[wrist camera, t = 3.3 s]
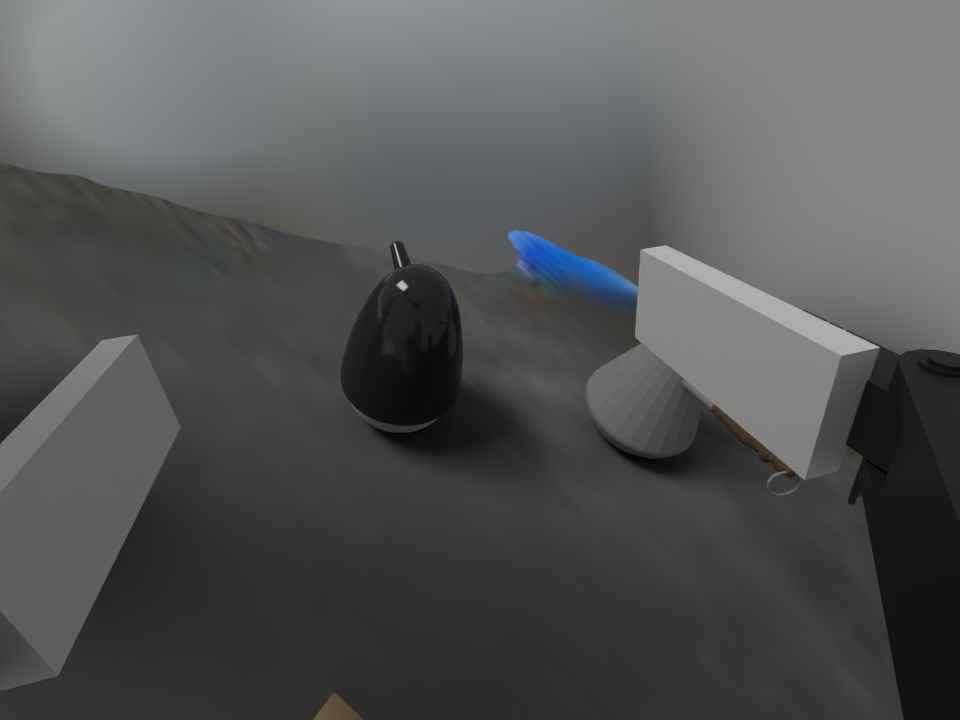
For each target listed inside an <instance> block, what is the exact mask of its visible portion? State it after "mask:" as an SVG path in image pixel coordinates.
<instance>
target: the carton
mask: <svg viewBox="0 0 960 720" xmlns="http://www.w3.org/2000/svg"><path fill="white" fill-rule="evenodd" d="M313 720H364V719H363V718H361V717H360V716H359V715H358V714H357V713H356V712H355V711H354V710H353V709H352V708H351V707H350V706H349V705H348V704H347V703H346V702H345V701H344V700H342V699H341V698H340V697H339V696H338V695H337V694H336V693H335V692H334V693H333V694H332V696H331V697H330V698H329V700H328V701H327V702H326V703H325V705H324V706H323V707H322V709H321V710H320V711H319V712H318V714H317V715H316V716H315V718H314V719H313Z"/></svg>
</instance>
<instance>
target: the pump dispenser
mask: <svg viewBox="0 0 960 720" xmlns="http://www.w3.org/2000/svg"><path fill="white" fill-rule="evenodd" d="M390 248H391V253H392V259H393V264H394V269H395V270H393V271H392V272H391V273H389V274H388V275H387V276H386V277H384V278H383V279H382V280H381V281H380V282H379V284H378V285H377V286H376V287H375V289H374V290H373V291H372V293H371V294H370V296H369V297H368V299H367V300H366V302H365V304H364V306H363V308H362V309H361V311H360V313H359V315H358V317H357V319H356V322H355V324H354V326H353V328H352V331H351V333H350V336H349V339H348V342H347V346H346V349H345V352H344V356H343V360H342V366H341V385H342V388H343V391H344V393H345V395H346V397H347V398H348V400H349V402H350V404H351V405H352V407H353V409H354V410H355V411H356V413H357V414H358V415H359V416H360V417H361V418H362V419H363V420H364V421H366V422H367V423H369V424H370V425H372V426H374V427H376V428H378V429H381V430H384V431H388V432H394V433H407V432H413V431H417V430H420V429H422V428H424V427H427V426H428V425H430V424H432V423H433V422H434V421H436V420H437V419H438V418H439V417H440V416H442V415H443V414H444V413H446V412H447V411H448V410H449V409H450V407H451V406H452V405H453V403H454V401H455V399H456V397H457V394H458V391H459V387H460V382H461V375H462V365H463V338H462V326H461V318H460V312H459V308H458V304H457V301H456V298H455V295H454V293H453V290H452V288H451V286H450V284H449V283H448V281H447V280H446V278H445V277H444V276H443V275H442V274H441V273H440V272H438V271H437V270H435V269H434V268H432V267H429V266H426V265H422V264H411V262H410V260H409V257H408V255H407V252H406V250H405V247H404V244H403V243H402V242H400V241H395V242H393V243H392V244H391V246H390Z"/></svg>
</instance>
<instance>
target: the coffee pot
mask: <svg viewBox="0 0 960 720" xmlns="http://www.w3.org/2000/svg"><path fill="white" fill-rule="evenodd" d="M702 403H703V404H704V405H706V406H707V407H708V408H709V409H710V410H711V411H712V412H713V413H714V414H715V415H716V416H717V418H718V419H719V420H720V421H721V422H722V423H723V424H724V425H725V426H726V427H727V428H728V429H729V430H730V431H731V432H732V433H733V434H734V435H735V436H736V437H737V438H738V439H739V440H740V441H741V442H742V443H744V444H746V445H747V446H749V447H750V448H752V449H753V450H755V451H756V452H758V453H759V458H760V459H761V460H762V461H764V462H770V463H772V464H773V466H774V468H775V469H776V470H777V471H779V472H778V473H776V474H773V475H772V476H771V477H770V478H769V479H768V481H767V486H766V488H767V489H768V490H769V491H770V493H772V494H774V495H776V496H786V495H789V494H791V493H793V492H795V491H796V490H797V489H798V488H799V487H800V484H801V479H800V477H799V476H798V475H797V474H796V473H795V472H794V471H793V470H792V469H791V468H790V467H788V466H787V465H786V464H785V463H784V462H782V461H781V460H780V459H779V458H778V457H777V456H775V455H774V454H773V453H772V452H771V451H769V450H768V449H767V448H766V447H765V446H763V445H762V444H761V443H760V442H759V441H758V440H756V439H755V438H754V437H753V436H752V435H750V434H749V433H748V432H747V431H746V430H744V429H743V428H742V427H741V426H740V425H739V424H737V423H736V422H735V421H734V420H733V419H731V418H730V417H729V416H728V415H727V414H725V413H724V412H723V411H722V410H721V409H720V408H718V407H717V406H716V405H715V404H714V403H712V402H711V401H710V400H709V399H708V398H707V397H705V396H704V395H703V394H702V393H701V392H699V391H698V390H697V389H696V388H695V387H693V386H692V385H691V384H690V383H689V382H688V381H686V380H685V379H684V378H683V377H682V376H680V375H679V374H678V373H677V372H676V371H674V370H673V369H672V368H671V367H670V366H669V365H667V364H666V363H665V362H664V361H663V360H661V359H660V358H659V357H658V356H657V355H655V354H654V353H653V352H652V351H651V350H650V349H648V348H647V347H646V346H645V345H644V344H642V343H641V344H640V345H638V346H636V347H634V348H633V349H631V350H629V351H628V352H626V353H624V354H623V355H621V356H619V357H617V358H616V359H614V360H612V361H611V362H609V363H607V364H606V365H604V366H602V367H600V368H599V369H597V370H596V371H595V372H594V373H593V374H592V375H591V377H590V378H589V380H588V383H587V387H586V405H587V409H588V412H589V415H590V417H591V419H592V421H593V422H594V424H595V425H596V427H597V428H598V430H599V431H600V432H601V434H602V435H603V436H604V437H605V438H606V439H607V440H608V441H609V442H610V443H611V444H613V445H614V446H616V447H617V448H619V449H621V450H623V451H625V452H627V453H630V454H633V455H637V456H641V457H646V458H650V459H663V458H667V457H671V456H674V455H677V454H680V453H682V452H683V451H685V450H686V449H687V448H688V447H690V446H691V444H692V442H693V440H694V438H695V436H696V434H697V428H698V422H699V417H700V411H701V405H702ZM782 474H783V475H786V476H787V477H789V478H793V477H794V476H796V477H797V478H798V482H797V485H796V486H795V487H794V488H793V489H792V490H790V491H788V492H786V493H779V494H777V493H774V492H772V491H771V490H770V489H769V488H770V482H771V481H772V480H773V479H774V478H775V477H777V476H779V475H782Z"/></svg>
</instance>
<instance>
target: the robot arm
mask: <svg viewBox="0 0 960 720" xmlns="http://www.w3.org/2000/svg"><path fill="white" fill-rule="evenodd" d="M635 338H636V339H638V340H639V341H640V342H641V343H642V344H644V345H645V346H646V347H647V348H648V349H650V350H651V351H652V352H653V353H654V354H655V355H657V356H658V357H659V358H660V359H661V360H663V361H664V362H665V363H666V364H667V365H669V366H670V367H671V368H672V369H673V370H674V371H676V372H677V373H678V374H679V375H680V376H682V377H683V378H684V379H685V380H686V381H688V382H689V383H690V384H691V385H692V386H693V387H695V388H696V389H697V390H698V391H699V392H701V393H702V394H703V395H704V396H705V397H707V398H708V399H709V400H710V401H711V402H712V403H714V404H715V405H716V406H717V407H718V408H720V409H721V410H722V411H723V412H724V413H725V414H727V415H728V416H729V417H730V418H731V419H733V420H734V421H735V422H736V423H737V424H739V425H740V426H741V427H742V428H743V429H744V430H746V431H747V432H748V433H749V434H750V435H752V436H753V437H754V438H755V439H756V440H758V441H759V442H760V443H761V444H762V445H763V446H765V447H766V448H767V449H768V450H769V451H771V452H772V453H773V454H774V455H775V456H777V457H778V458H779V459H780V460H781V461H782V462H784V463H785V464H786V465H787V466H788V467H790V468H791V469H792V470H793V471H794V472H795V473H797V474H798V475H799V476H800V477H801V478H803V479H804V480H807V479H811V478H815V477H819V476H822V475H826V474H830V473H834V472H838V471H839V468H840V465H841V462H842V459H843V456H844V453H845V450H846V447H847V446H849V447H850V448H852V449H853V450H855V451H856V452H857V453H859V454H860V455H862V456H863V458H862V461H861V464H860V467H859V470H858V472H857V475H856V478H855V481H854V483H853V486H852V489H851V492H850V495H849V498H848V503H849V504H853V505H854V504H855V502H856V499H857V497H859V496H861V495H862V497H863V503H864V508H865V513H866V519H867V524H868V530H869V535H870V540H871V546H872V551H873V556H874V562H875V567H876V573H877V578H878V583H879V589H880V594H881V599H882V605H883V610H884V616H885V621H886V626H887V632H888V637H889V642H890V648H891V653H892V659H893V664H894V669H895V675H896V680H897V685H898V691H899V696H900V702H901V707H902V712H903V718H904V720H960V355H959V354H956V353H950V352H945V351H939V350H922V349H920V350H913V351H907V352H905V353H903V354H901V355H898V354H897V353H895V352H892V351H890V350H888V349H886V348H884V347H882V346H880V345H878V344H876V343H873V342H871V341H869V340H867V339H865V338H863V337H861V336H859V335H857V334H854V333H852V332H850V331H848V330H846V331H845V330H843V328H842V327H839V326H837V325H835V324H833V323H828V322H827V320H825V319H823V318H821V317H818V316H816V315H814V314H812V313H810V312H808V311H805V310H801V309H798V308H796V307H794V306H792V305H790V304H788V303H786V302H784V301H781V300H779V299H777V298H775V297H773V296H771V295H769V294H766V293H764V292H762V291H760V290H758V289H756V288H754V287H752V286H750V285H748V284H745V283H744V282H741V281H739V280H737V279H735V278H732V277H731V276H729V275H727V274H724V273H723V272H720V271H718V270H716V269H714V268H712V267H710V266H708V265H706V264H703V263H701V262H699V261H697V260H695V259H693V258H691V257H689V256H687V255H685V254H683V253H680V252H678V251H676V250H674V249H672V248H670V247H668V246H660V247H654V248H648V249H642V250H641V255H640V271H639V285H638V300H637V315H636V330H635ZM180 428H181V427H180V425H179V422H178V420H177V418H176V416H175V414H174V412H173V410H172V408H171V405H170V403H169V401H168V399H167V397H166V395H165V393H164V391H163V388H162V386H161V384H160V382H159V380H158V378H157V376H156V374H155V372H154V369H153V367H152V365H151V363H150V361H149V359H148V357H147V355H146V352H145V350H144V348H143V346H142V344H141V342H140V340H139V338H138V335H131V336H125V337H119V338H113V339H108V340H102V341H101V342H100V343H99V344H98V345H97V346H96V347H95V348H94V349H93V350H92V351H91V352H90V353H89V354H88V355H87V356H86V357H85V358H84V359H83V360H82V361H81V362H80V363H79V364H78V365H77V366H76V368H75V369H74V370H73V371H72V372H71V373H70V374H69V375H68V376H67V377H66V378H65V379H64V380H63V381H62V382H61V383H60V384H59V385H58V386H57V387H56V388H55V389H54V390H53V391H52V392H51V393H50V394H49V395H48V396H47V397H46V398H45V399H44V400H43V401H42V402H41V403H40V404H39V405H38V406H37V407H36V408H35V409H34V410H33V411H32V412H31V413H30V414H29V415H28V416H27V417H26V418H25V419H24V420H23V421H22V422H21V423H20V424H19V425H18V426H17V427H16V428H15V429H14V430H13V431H12V432H11V433H10V434H9V435H8V437H7V438H6V439H5V440H4V441H3V442H2V443H1V444H0V690H1V691H3V690H6V689H10V688H14V687H18V686H22V685H26V684H29V683H33V682H37V681H41V680H45V679H48V678H52V677H56V676H58V675H59V673H60V671H61V669H62V667H63V665H64V663H65V661H66V659H67V657H68V655H69V653H70V651H71V649H72V647H73V645H74V642H75V640H76V638H77V636H78V634H79V632H80V630H81V628H82V626H83V624H84V622H85V620H86V618H87V616H88V614H89V612H90V610H91V608H92V606H93V604H94V602H95V600H96V598H97V596H98V594H99V592H100V590H101V588H102V586H103V584H104V582H105V580H106V578H107V576H108V574H109V572H110V570H111V568H112V566H113V564H114V561H115V559H116V557H117V555H118V553H119V551H120V549H121V547H122V545H123V543H124V541H125V539H126V537H127V535H128V533H129V531H130V529H131V527H132V525H133V523H134V521H135V519H136V517H137V515H138V513H139V511H140V509H141V507H142V505H143V503H144V501H145V499H146V497H147V495H148V493H149V491H150V489H151V487H152V485H153V483H154V480H155V478H156V476H157V474H158V472H159V470H160V468H161V466H162V464H163V462H164V460H165V458H166V456H167V454H168V452H169V450H170V448H171V446H172V444H173V442H174V440H175V438H176V436H177V434H178V432H179V430H180Z"/></svg>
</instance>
